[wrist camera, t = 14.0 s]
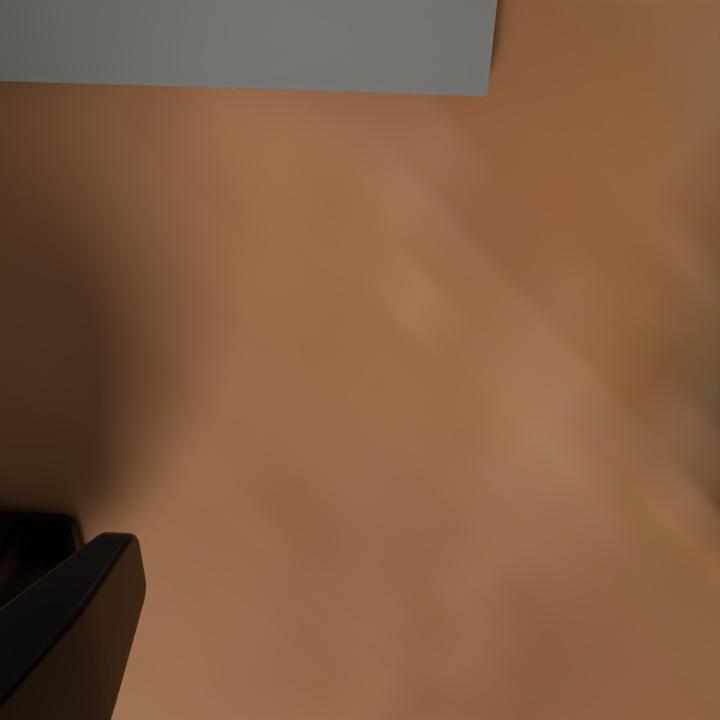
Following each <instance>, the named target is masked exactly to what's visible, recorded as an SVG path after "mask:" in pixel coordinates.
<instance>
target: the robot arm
mask: <svg viewBox="0 0 720 720" xmlns="http://www.w3.org/2000/svg"><path fill="white" fill-rule="evenodd" d="M60 527H62V528H64V529H61V528H60ZM145 593H146V579H145V574H144V568H143V562H142V556H141V550H140V544H139V541H138V538H137V537H136V536H135V535H134V534H131V533H116V532H105V533H102V534H100V535H98V536H96V537H95V538H94V539H92V540H91V541H90V542H88V543H87V544H86V545H84V546H83V547H82V546H81V541H80V537H79V533H78V528H77V524H76V522H75V521H74V520H73V519H72V518H71V517H69V516H67V515H64V514H50V513H29V512H7V511H0V720H111V717H112V714H113V711H114V707H115V704H116V701H117V697H118V693H119V690H120V686H121V683H122V679H123V675H124V672H125V668H126V665H127V661H128V657H129V654H130V650H131V646H132V643H133V639H134V636H135V632H136V628H137V625H138V621H139V618H140V614H141V610H142V607H143V603H144V599H145Z"/></svg>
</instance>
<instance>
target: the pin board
mask: <svg viewBox="0 0 720 720" xmlns="http://www.w3.org/2000/svg"><path fill="white" fill-rule="evenodd" d="M496 9H497V0H0V81H11V82H43V83H75V84H107V85H140V86H172V87H204V88H236V89H269V90H301V91H333V92H365V93H398V94H430V95H462V96H487V93H488V84H489V75H490V65H491V56H492V47H493V37H494V28H495V19H496Z"/></svg>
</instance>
